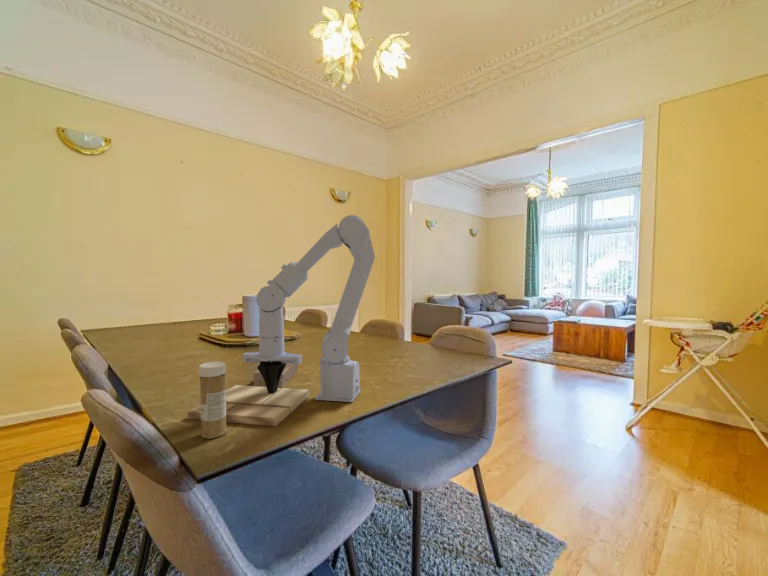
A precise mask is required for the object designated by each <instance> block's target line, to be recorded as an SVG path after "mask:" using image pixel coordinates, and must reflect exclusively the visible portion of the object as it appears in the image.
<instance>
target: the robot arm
mask: <svg viewBox="0 0 768 576" xmlns="http://www.w3.org/2000/svg"><path fill="white" fill-rule="evenodd" d="M343 245H344V246H345V247H347V248H348V249H349V252H350V254H351V256H352V258H353V259H354V260H353V264H352V267H351V268H350V269H351V270H350V272H349V274H348V278H347V280H346V284H345V286H344V289H343V292H342V295H341V298H340V301H339V304H338V307H337V309H336V310H337V311H336V313H335V315H334V318H333V321H332V323H331V325H330V329H329V330H328V331H327V333H325V334H324V336H323V337H322V341H321V347H320V348H321V349H320V350H321V351H320V352H321V355H322V357H319V359H320V360H319V364H320V365H319V367H320V369H319V374H320V375H319V378H320V392H319V393H318V394H317V395H316V396H315V397H314V400H315V401H330V402H344V403H353V402H354V400H355V399H356V398H357V397H358V395H359V394H360V393H361V381H360V380H361V377H360V375H361V371H360V370H361V369H360V363H359V362H358V361H356V360H351V358H350V355H348V353H349V344H348V343H349V342H348V341H349V339H350V334H351V329H352V325H353V322H354V320H355V317H356V314H357V311H358V309H359V305H360V303H361V299H362V297H363V293H364V290H365V287H366V284H367V281H368V279H369V276H370V273H371V271H372V267H373V264H374V261H375V258H376V257H375V252H374V247H373V243H372V238H371V233H370V229H369V228H368V226H367V224H366V223H365V221H364V220H363V219H362V218H360V216H358V215H355V214H354V215H353V214H352V215H351V214H350V215H347V216H344V217H343V218H342V219H341V220H340V222H339V224H338V223H336V224H334V225H333V226H332V227H331V228H329V229H328V230H327V231H325V233H324V234H323V235H322V236H321V237H320V238H319V239H318V240H317V241H316V242H315V243H314V245H313V246H311V248H310V249H309V250H308V251H307V252H306V253H305V254H304V255H303V257H301V258H300V259H299V260H298V261H297V262H296V261H295V262H294V261H290V262H288V263H287V264H285V263H284V264H283V265H282V266H281V267H280V268H281V269H282V270H281V271H280V272H279V273H278V274H277V275H276V276H275V277H273V278H272V279H269V280H268V281H267V284H268V285H265V286H263V287H261V288H260V290H259V291H258V292H257V295H256V298H255V299H256V304H257V307H258V308H259V309H258V310H259V311H258V313H259V315H258V316H259V317H258V332H259V333H258V336H259V337H258V342H259V345H258V347H259V348H258V349H259V352H247V351H246V352H245V353H243V354H242V362H243V363H248V362H252V363H255V362H256V363H259V365H257V370H259V372H260V373H261V375H262V377H263V379H264V381H265V384H266V387H267V391H268V393H269V394H274V393H275V392H276V391H277V389H278V384H279V381H280V377H281V375H282V372H283V370H284V368H285V366H286V363H290V364H295V365H298V366H299V365H300V364H302V363H303V355H302V354H296V353H289V352H285V317H284V304H285V302H286V298H290V297H291V296H293V294H294V293H296V291H297V290H298V289H300V288H301V286H302V285H303V284H304V283H305V282H306V281H307V280H308V276H309V275H308V271H309V270H311V269H312V267H314V266H315V265H316V263H318V262H319V261H320V260H321V259H322V258H323V257H324V256H325V255H326V254H327V253H329V251H330V250H332V249H337V248H341V247H342V246H343Z"/></svg>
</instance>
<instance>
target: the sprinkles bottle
mask: <svg viewBox="0 0 768 576" xmlns="http://www.w3.org/2000/svg"><path fill="white" fill-rule="evenodd" d="M226 373H227V365H226V363H225V362H224V361H217V360H216V361H208V362H204V363H202V364H200V365H198V376H199V379H200V380H199V383H200V385H199V388H200V389H199V390H200V396H199V399H200V401H199V403H200V404H199V405H200V410H201V420H200V422H201V423H200V424H201V425H200V426H201V428H200V436H201V437H202V438H203V439H214V438H219V437H221V436H223V435H225V434H226V433H227V431H228V428H227V422H226V390H227V389H226Z"/></svg>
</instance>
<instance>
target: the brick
mask: <svg viewBox="0 0 768 576" xmlns="http://www.w3.org/2000/svg"><path fill="white" fill-rule="evenodd" d="M298 369H299V365H295V364H290V363H286V366H285V368H284V370H283V372H282V375H281V377H280V381H279V384H278V387H281V388H284V386H285V385H286V384H287V383H288V382H289V381H290V380H291V379H292V378H293V377H294V375H296V373H297V372H298V371H299V370H298ZM290 378H291V379H290ZM287 381H288V382H287ZM252 386H257V387H266V384H265V381H264V379H263V377H262V375H261V373H260V372H259V370H258V369H257V370H255V371H254V372H253V385H252Z"/></svg>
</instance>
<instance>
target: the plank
mask: <svg viewBox="0 0 768 576" xmlns="http://www.w3.org/2000/svg"><path fill="white" fill-rule="evenodd" d="M309 397H310V389H307V388H306V389H305V388H288V387H287V388H286V387H281V388H278V389H277V391H276V392H275V393H274V394H269V393H268V391H267V387H257V386H253V385H237V384H235V385H234V386H232V387H230V388H228V389H226V402H235V403H249V404H263V405H277V406H290V414H292V413H294V411H296V409H297V408H298V407H299V406H300V405H301V404H303V403H304V402H305V401H306V400H307V399H308V398H309Z"/></svg>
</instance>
